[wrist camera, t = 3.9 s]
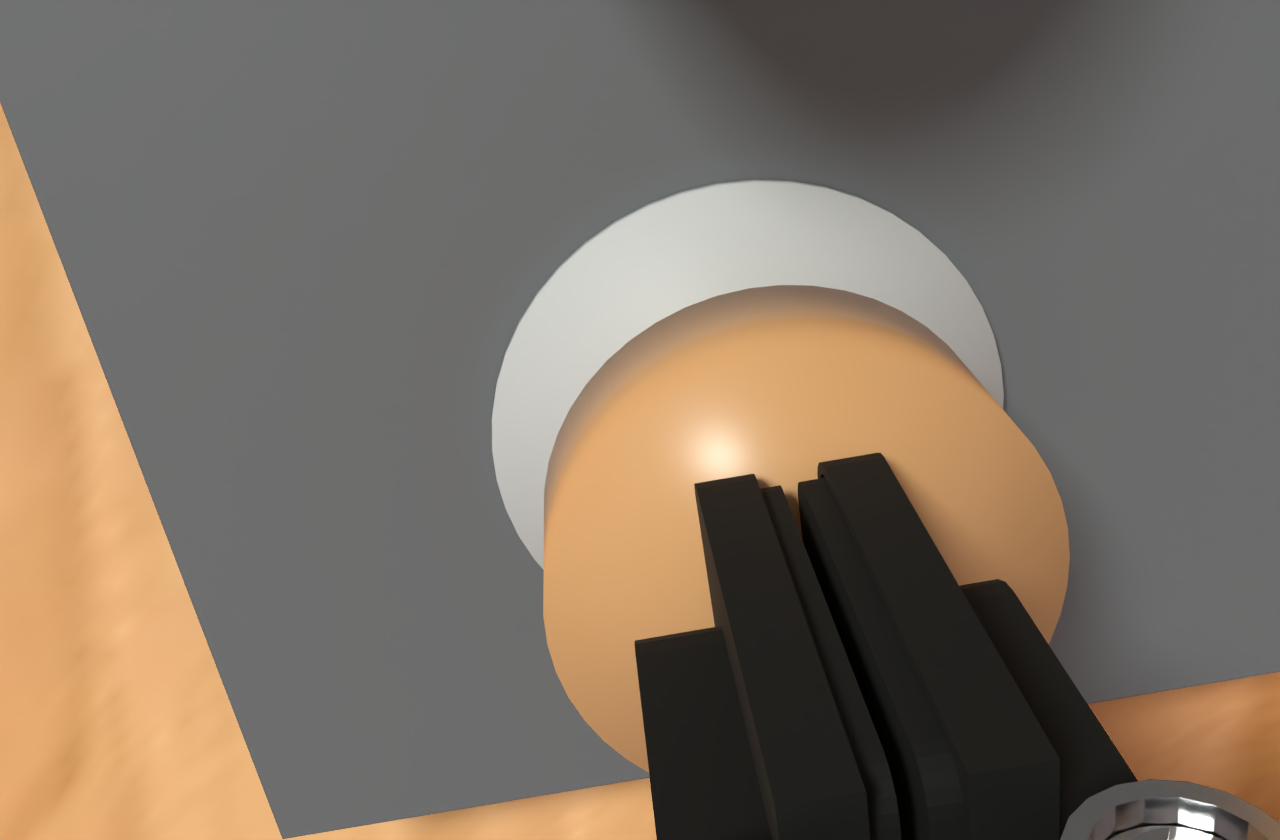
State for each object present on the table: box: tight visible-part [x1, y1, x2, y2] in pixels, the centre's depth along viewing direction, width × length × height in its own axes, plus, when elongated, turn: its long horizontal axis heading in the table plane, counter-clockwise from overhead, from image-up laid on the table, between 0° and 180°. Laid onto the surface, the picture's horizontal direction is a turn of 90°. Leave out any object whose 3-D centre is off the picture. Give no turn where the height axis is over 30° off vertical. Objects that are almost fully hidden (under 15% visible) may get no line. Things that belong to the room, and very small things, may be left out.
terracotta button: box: [543, 285, 1070, 773], centre depth 12 cm, size 5×5×3 cm
